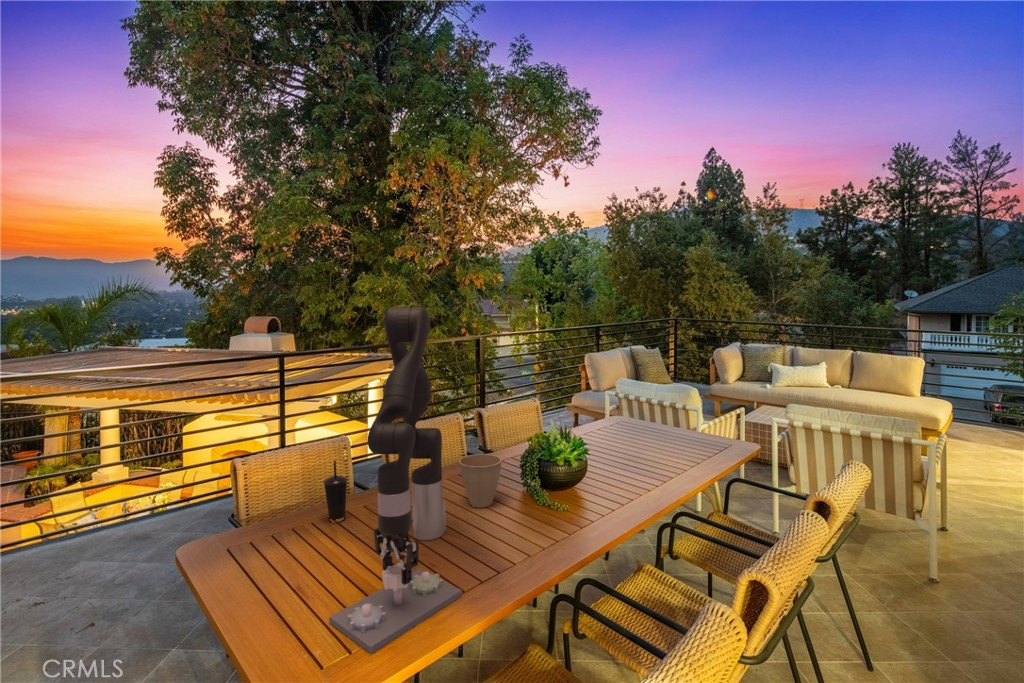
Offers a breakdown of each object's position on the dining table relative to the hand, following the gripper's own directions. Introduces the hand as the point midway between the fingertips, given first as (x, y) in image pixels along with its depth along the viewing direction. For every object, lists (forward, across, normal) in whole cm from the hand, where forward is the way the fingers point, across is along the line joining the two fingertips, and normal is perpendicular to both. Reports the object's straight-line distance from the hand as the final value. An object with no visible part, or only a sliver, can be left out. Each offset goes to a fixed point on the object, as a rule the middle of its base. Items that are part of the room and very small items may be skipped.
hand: (397, 577), depth 118 cm
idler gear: (+1, 0, 0) cm, 1 cm away
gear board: (+8, 0, 0) cm, 8 cm away
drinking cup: (+8, +56, -18) cm, 59 cm away
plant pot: (+8, +27, -57) cm, 64 cm away
